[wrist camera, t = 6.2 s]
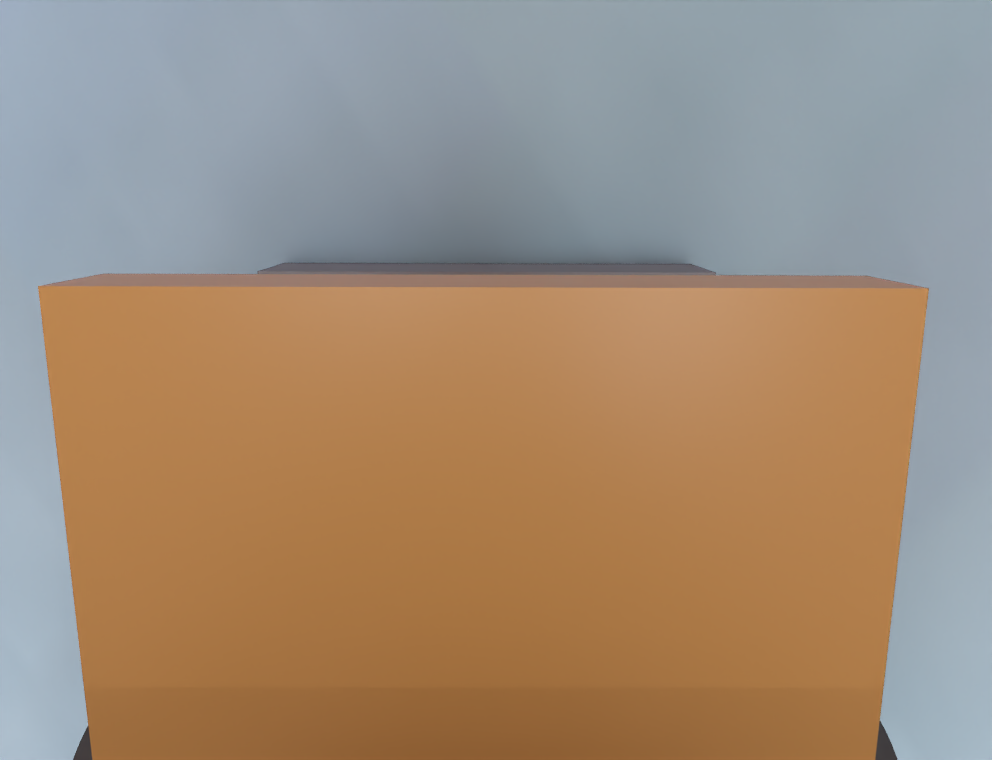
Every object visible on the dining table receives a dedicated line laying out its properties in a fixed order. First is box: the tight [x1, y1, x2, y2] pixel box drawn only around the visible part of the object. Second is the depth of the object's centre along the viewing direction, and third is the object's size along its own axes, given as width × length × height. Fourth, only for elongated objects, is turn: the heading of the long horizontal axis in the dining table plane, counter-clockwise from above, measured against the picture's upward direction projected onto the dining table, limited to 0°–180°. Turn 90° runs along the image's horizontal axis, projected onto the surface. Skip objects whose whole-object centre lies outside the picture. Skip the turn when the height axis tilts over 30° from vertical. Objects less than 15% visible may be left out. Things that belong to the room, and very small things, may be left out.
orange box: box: [38, 274, 929, 760], centre depth 10 cm, size 10×5×8 cm, turn 0°
